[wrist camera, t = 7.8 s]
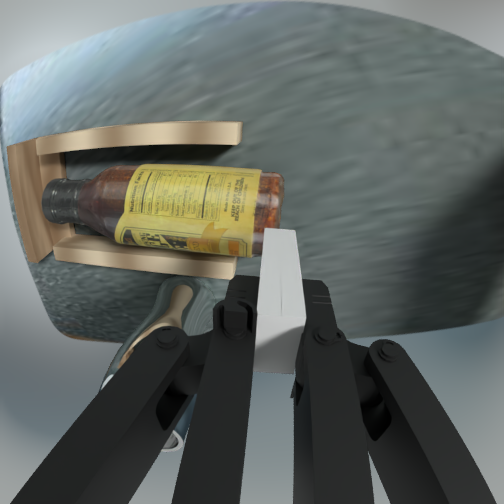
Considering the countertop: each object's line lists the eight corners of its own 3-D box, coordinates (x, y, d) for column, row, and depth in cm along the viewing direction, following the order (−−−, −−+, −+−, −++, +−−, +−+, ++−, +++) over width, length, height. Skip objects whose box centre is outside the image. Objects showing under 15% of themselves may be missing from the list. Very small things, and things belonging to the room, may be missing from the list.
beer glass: (160, 323, 30) (110, 439, 17) (149, 268, 27) (72, 389, 14) (222, 328, 30) (194, 459, 17) (218, 272, 27) (174, 415, 14)
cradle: (242, 121, 20) (235, 123, 17) (237, 261, 26) (231, 286, 23) (33, 138, 21) (6, 146, 18) (49, 244, 27) (28, 261, 23)
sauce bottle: (278, 251, 24) (78, 230, 26) (285, 174, 23) (80, 168, 24) (276, 272, 18) (34, 241, 19) (286, 166, 16) (35, 166, 18)
